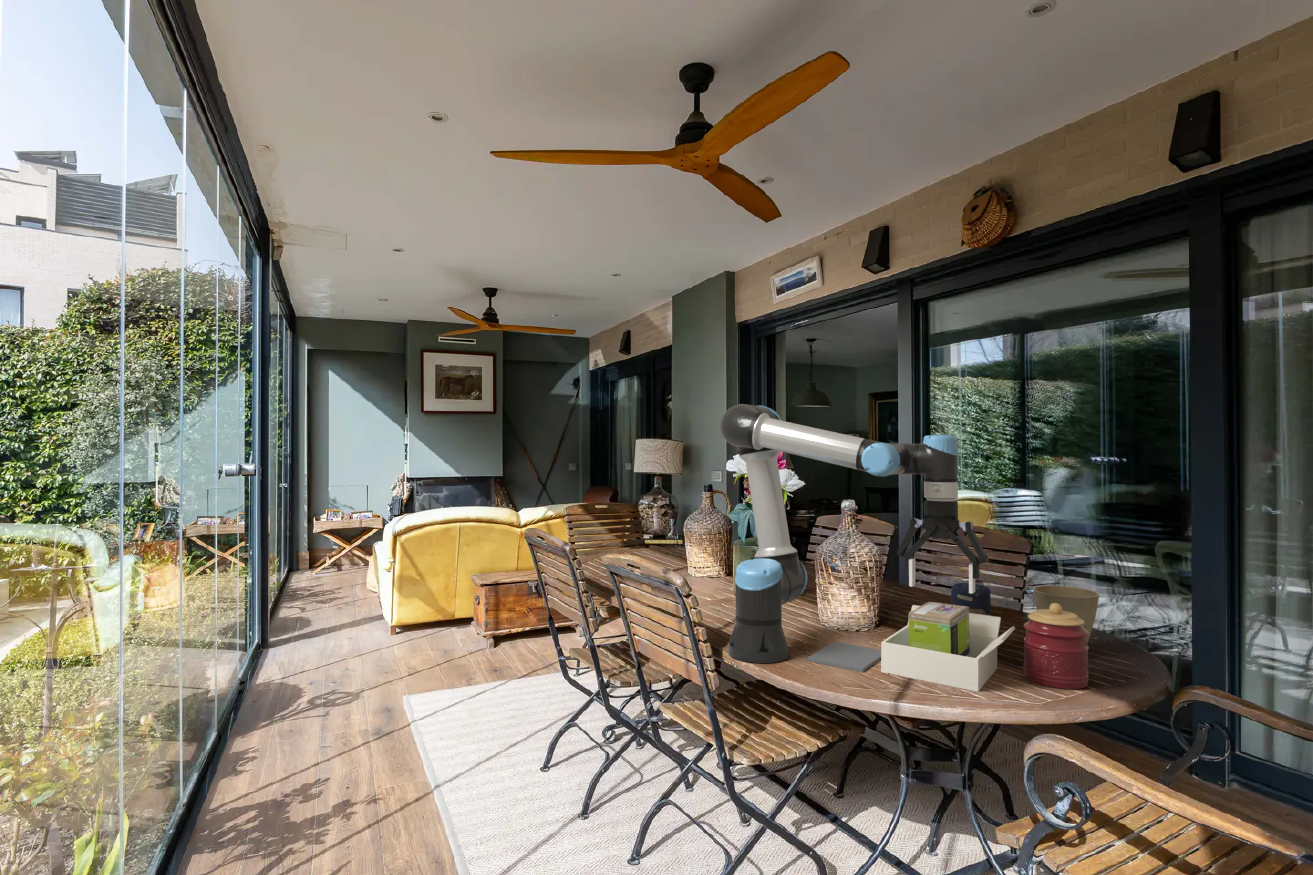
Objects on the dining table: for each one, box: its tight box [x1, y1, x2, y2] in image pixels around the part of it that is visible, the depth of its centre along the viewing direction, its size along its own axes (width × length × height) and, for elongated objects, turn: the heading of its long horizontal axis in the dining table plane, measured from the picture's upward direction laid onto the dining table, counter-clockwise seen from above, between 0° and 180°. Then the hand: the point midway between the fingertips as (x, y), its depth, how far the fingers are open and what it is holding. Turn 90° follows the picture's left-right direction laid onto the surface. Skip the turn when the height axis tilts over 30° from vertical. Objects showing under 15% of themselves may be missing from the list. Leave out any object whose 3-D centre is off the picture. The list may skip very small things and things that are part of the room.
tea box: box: [907, 601, 970, 657], centre depth 166 cm, size 15×10×15 cm, turn 141°
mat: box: [806, 641, 881, 673], centre depth 176 cm, size 14×18×1 cm
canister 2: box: [1022, 603, 1090, 690], centre depth 160 cm, size 13×13×18 cm
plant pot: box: [1033, 584, 1100, 646], centre depth 182 cm, size 15×15×16 cm
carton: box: [880, 604, 1016, 692], centre depth 167 cm, size 26×25×12 cm
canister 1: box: [950, 582, 992, 616], centre depth 183 cm, size 10×10×18 cm
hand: (941, 589), depth 166 cm, fingers open, 13 cm apart
